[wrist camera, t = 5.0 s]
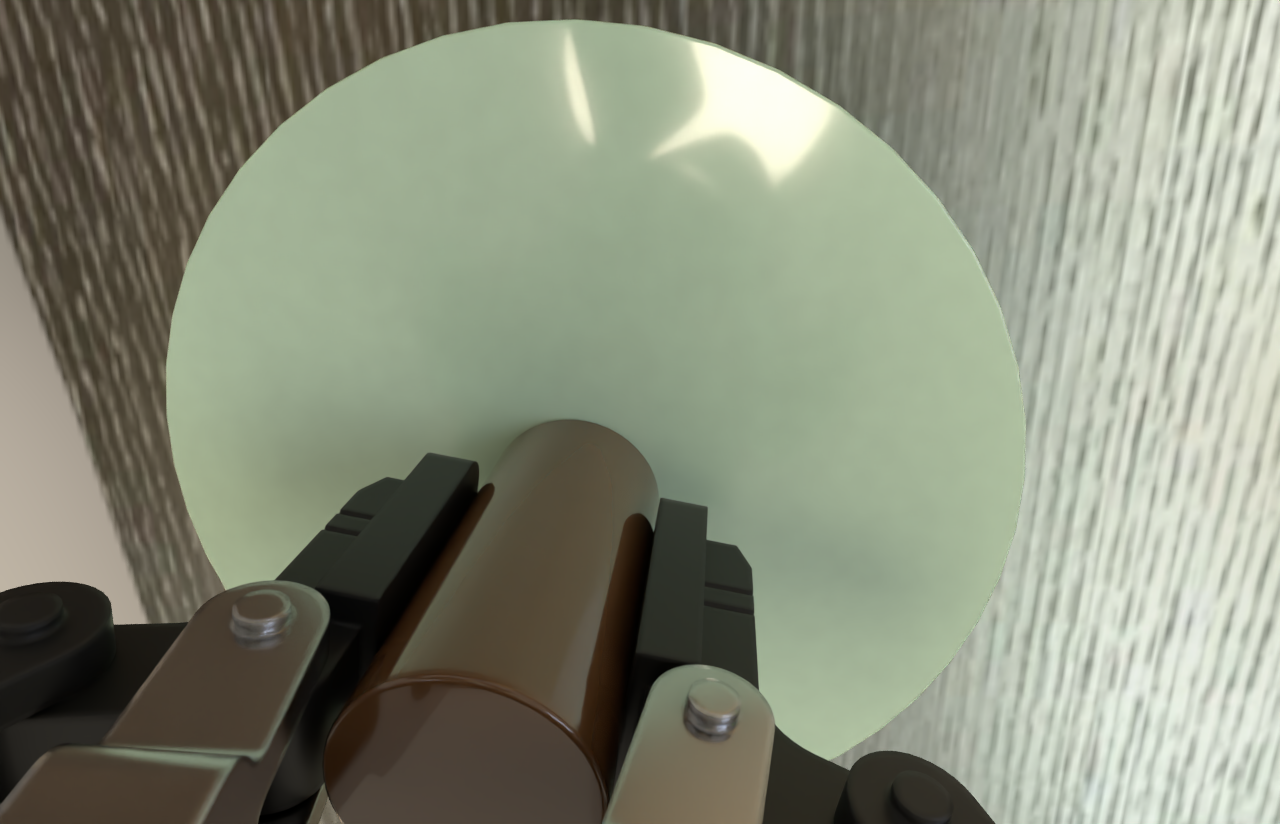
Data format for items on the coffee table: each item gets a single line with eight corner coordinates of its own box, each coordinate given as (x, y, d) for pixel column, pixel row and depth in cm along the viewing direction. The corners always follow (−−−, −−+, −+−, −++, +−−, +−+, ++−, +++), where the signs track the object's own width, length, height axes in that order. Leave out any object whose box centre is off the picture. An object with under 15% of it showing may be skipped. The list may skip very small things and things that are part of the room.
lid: (226, 688, 17) (-96, 1069, 10) (182, -50, 11) (-570, -257, 5) (868, 821, 16) (965, 1308, 10) (1143, 118, 11) (1785, 150, 4)
